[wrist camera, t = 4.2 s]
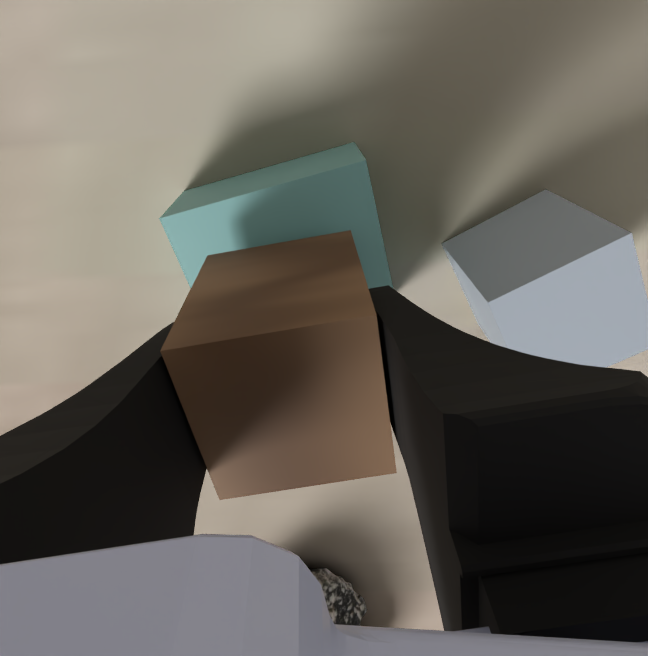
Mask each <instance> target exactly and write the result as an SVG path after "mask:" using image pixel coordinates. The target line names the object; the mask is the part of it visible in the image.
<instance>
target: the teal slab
mask: <svg viewBox="0 0 648 656" xmlns="http://www.w3.org/2000/svg"><path fill="white" fill-rule="evenodd" d="M159 219H160V221H161V223H162V225H163V228H164V230H165V232H166V234H167V237H168V239H169V241H170V243H171V246H172V248H173V250H174V252H175V254H176V257H177V259H178V261H179V263H180V266H181V268H182V270H183V272H184V275H185V277H186V279H187V281H188V283H189V286H190V288H192V285H193V283H194V281H195V279H196V277H197V275H198V273H199V271H200V269H201V267H202V265H203V263H204V261H205V259H206V257H207V255H212V254H218V253H223V252H229V251H235V250H240V249H246V248H252V247H258V246H263V245H269V244H275V243H280V242H286V241H292V240H297V239H303V238H309V237H314V236H320V235H326V234H331V233H337V232H343V231H348V230H351V233H352V236H353V239H354V243H355V246H356V249H357V253H358V256H359V259H360V262H361V266H362V269H363V272H364V276H365V279H366V282H367V285H368V289H370V288H375V287H381V286H387V285H389V286H390V287H391V288H393V285H392V280H391V276H390V271H389V266H388V261H387V257H386V252H385V247H384V242H383V238H382V233H381V228H380V224H379V219H378V214H377V209H376V205H375V200H374V195H373V190H372V186H371V181H370V176H369V171H368V167H367V162H366V159H365V158H364V156H363V155H362V153H361V152H360V150H359V148H358V147H357V145H356V144H355V142H352V143H349V144H345V145H342V146H338V147H335V148H332V149H328V150H325V151H321V152H318V153H314V154H311V155H307V156H304V157H300V158H297V159H293V160H290V161H286V162H283V163H279V164H276V165H272V166H269V167H266V168H262V169H259V170H255V171H252V172H248V173H245V174H241V175H238V176H234V177H231V178H227V179H224V180H220V181H217V182H213V183H210V184H206V185H203V186H200V187H196V188H193V189H189V190H186V191H184V192H183V193H182V194H181V195H180V196H179V197H178V198H177V199H176V201H175V202H174V203H173V204H172V205H171V206H170V207H169V208H168V209H167V211H166V212H165V213H164V214H163V215H162V216H161V217H160V218H159Z"/></svg>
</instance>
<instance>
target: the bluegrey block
mask: <svg viewBox="0 0 648 656" xmlns="http://www.w3.org/2000/svg"><path fill="white" fill-rule="evenodd" d="M442 246H443V248H444V250H445V252H446V255H447V257H448V259H449V261H450V263H451V266H452V268H453V270H454V272H455V274H456V277H457V279H458V281H459V283H460V285H461V287H462V290H463V292H464V294H465V296H466V298H467V301H468V303H469V305H470V307H471V309H472V312H473V314H474V316H475V318H476V320H477V323H478V325H479V326H480V328H481V329H482V331H483V332H484V334H485V335H486V336H487V338H488V339H489V341H490V342H491V343H493V344H496V345H499V346H502V347H505V348H509V349H512V350H516V351H519V352H522V353H526V354H530V355H534V356H539V357H543V358H547V359H553V360H558V361H563V362H569V363H574V364H580V365H587V366H596V367H605V368H606V367H608V366H611V365H613V364H615V363H617V362H620V361H622V360H624V359H627V358H629V357H631V356H634V355H636V354H638V353H641V352H643V351H645V350H648V299H647V295H646V291H645V287H644V283H643V278H642V274H641V270H640V266H639V261H638V257H637V253H636V249H635V245H634V240H633V236H632V233H631V232H629V231H627V230H625V229H623V228H621V227H619V226H617V225H615V224H613V223H611V222H609V221H607V220H605V219H603V218H602V217H600V216H598V215H596V214H594V213H592V212H590V211H588V210H586V209H584V208H582V207H580V206H578V205H576V204H574V203H572V202H570V201H568V200H566V199H564V198H562V197H560V196H558V195H556V194H554V193H552V192H550V191H549V190H547V189H545V190H543V191H541V192H539V193H538V194H536V195H534V196H532V197H530V198H528V199H526V200H524V201H522V202H520V203H518V204H516V205H515V206H513V207H511V208H509V209H507V210H505V211H503V212H501V213H499V214H497V215H495V216H494V217H492V218H490V219H488V220H486V221H484V222H482V223H480V224H478V225H476V226H474V227H472V228H471V229H469V230H467V231H465V232H463V233H461V234H459V235H457V236H455V237H453V238H451V239H450V240H448V241H446V242H444V243H442Z"/></svg>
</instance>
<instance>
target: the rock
mask: <svg viewBox="0 0 648 656" xmlns="http://www.w3.org/2000/svg"><path fill="white" fill-rule="evenodd" d="M310 571H311V573H312V574H313V575H314V576H315V578H316V579H317V580H318V581H319V583H320V584H321V586H322V590H323V593H324V597H325V601H326V604H327V608H328V611H329V615H330V617H331V619H332V621H333V623H334V624H337V625H354V626H360V623H361V618H362V617H363V616H364V615H365V613H366V611H367V608H366V604H365V601H364V599H363V598H362V597H361V596H360V595H359V594H357V593H356V592H355V591H354V590H353V588H352V585H351V583H348V582H345V581H344V580H343V578H342V577H340V576H336V575H334V574H333V573H331V572H330V571H329V570H328V569H327V568H322V569H312V570H310Z"/></svg>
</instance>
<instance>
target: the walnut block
mask: <svg viewBox="0 0 648 656" xmlns="http://www.w3.org/2000/svg"><path fill="white" fill-rule="evenodd" d="M160 352H161V354H162V357H163V359H164V362H165V364H166V367H167V369H168V372H169V374H170V377H171V379H172V382H173V384H174V387H175V389H176V392H177V394H178V397H179V399H180V402H181V404H182V407H183V409H184V412H185V414H186V417H187V419H188V422H189V424H190V427H191V429H192V432H193V434H194V437H195V439H196V442H197V444H198V447H199V449H200V452H201V454H202V457H203V459H204V462H205V465H206V467H207V470H208V472H209V475H210V477H211V480H212V482H213V485H214V487H215V490H216V492H217V495H218V497H219V500H223V499H229V498H236V497H242V496H249V495H255V494H262V493H268V492H275V491H281V490H288V489H294V488H301V487H307V486H314V485H321V484H327V483H334V482H340V481H347V480H353V479H360V478H366V477H373V476H379V475H386V474H392V473H396V465H395V457H394V449H393V441H392V433H391V425H390V417H389V410H388V402H387V394H386V386H385V378H384V370H383V362H382V354H381V347H380V339H379V331H378V323H377V315H376V312H375V308H374V305H373V302H372V298H371V295H370V292H369V289H368V285H367V282H366V279H365V276H364V272H363V269H362V266H361V262H360V259H359V256H358V253H357V249H356V246H355V243H354V239H353V236H352V233H351V230H348V231H343V232H337V233H331V234H326V235H320V236H314V237H309V238H303V239H297V240H292V241H286V242H280V243H275V244H269V245H263V246H258V247H252V248H246V249H240V250H235V251H229V252H223V253H218V254H212V255H207V257H206V259H205V261H204V263H203V265H202V267H201V269H200V271H199V273H198V275H197V277H196V279H195V281H194V283H193V285H192V288H191V290H190V292H189V294H188V296H187V298H186V300H185V302H184V304H183V306H182V308H181V310H180V312H179V314H178V316H177V318H176V320H175V322H174V324H173V326H172V328H171V330H170V332H169V334H168V336H167V338H166V340H165V342H164V344H163V346H162V348H161V350H160Z"/></svg>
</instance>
